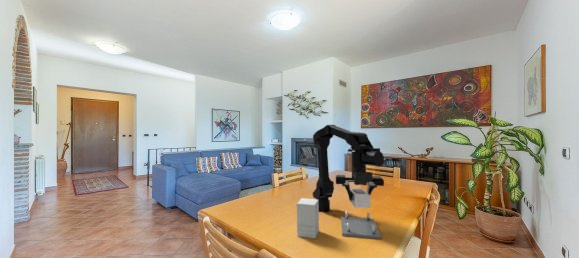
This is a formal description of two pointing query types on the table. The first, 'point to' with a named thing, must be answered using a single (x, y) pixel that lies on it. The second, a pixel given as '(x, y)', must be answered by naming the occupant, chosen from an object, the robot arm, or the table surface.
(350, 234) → the pin tray
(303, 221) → the supplement box
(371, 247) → the table surface
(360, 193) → the block
